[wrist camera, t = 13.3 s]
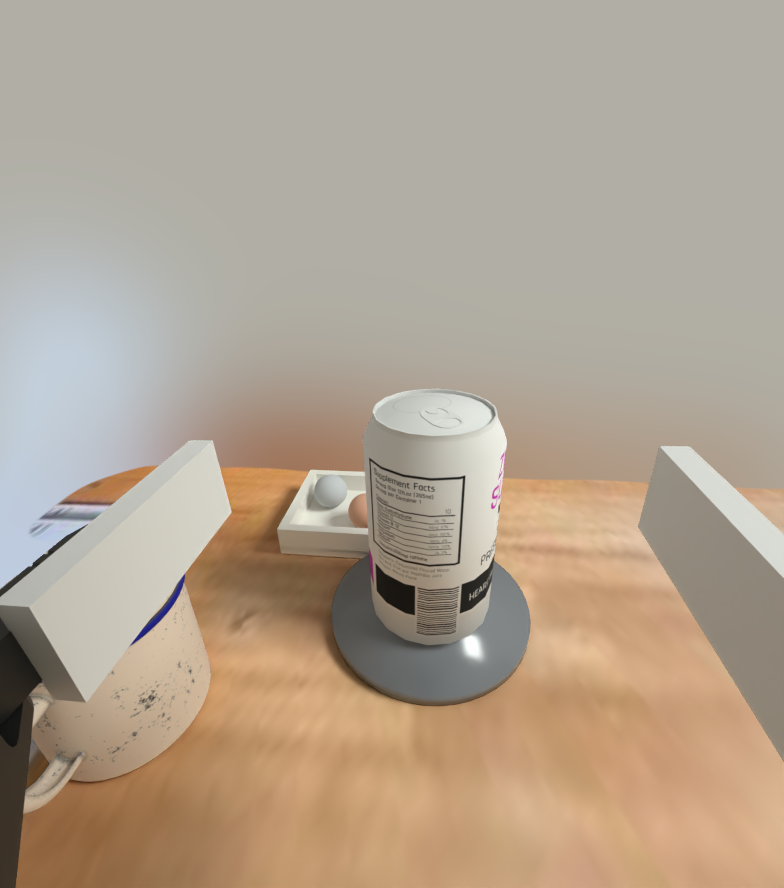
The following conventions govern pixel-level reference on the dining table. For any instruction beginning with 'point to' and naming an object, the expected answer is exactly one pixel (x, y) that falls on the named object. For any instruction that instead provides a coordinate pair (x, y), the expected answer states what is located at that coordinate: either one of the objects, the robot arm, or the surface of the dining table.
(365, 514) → the ball terracotta
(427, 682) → the slate coaster
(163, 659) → the teacup with lid
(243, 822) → the dining table surface
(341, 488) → the ball grey
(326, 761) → the dining table surface
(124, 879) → the dining table surface
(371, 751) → the dining table surface
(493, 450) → the supplement can
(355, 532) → the ball dish
